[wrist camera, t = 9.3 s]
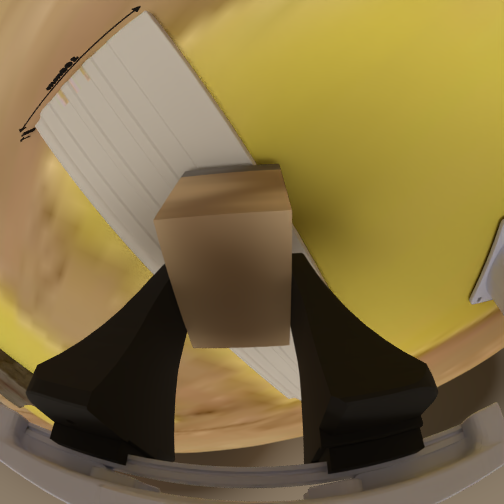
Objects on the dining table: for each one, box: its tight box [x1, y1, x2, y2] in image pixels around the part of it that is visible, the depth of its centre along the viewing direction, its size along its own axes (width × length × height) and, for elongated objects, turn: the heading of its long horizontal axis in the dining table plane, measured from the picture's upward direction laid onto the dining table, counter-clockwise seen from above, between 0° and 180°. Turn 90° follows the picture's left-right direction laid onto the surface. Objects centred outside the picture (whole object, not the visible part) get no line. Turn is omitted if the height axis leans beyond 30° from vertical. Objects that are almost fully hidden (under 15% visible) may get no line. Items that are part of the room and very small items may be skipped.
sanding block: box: [153, 164, 292, 348], centre depth 11 cm, size 4×6×4 cm, turn 4°
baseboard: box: [19, 6, 329, 400], centre depth 17 cm, size 30×3×10 cm
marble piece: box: [0, 349, 34, 408], centre depth 27 cm, size 17×15×4 cm
